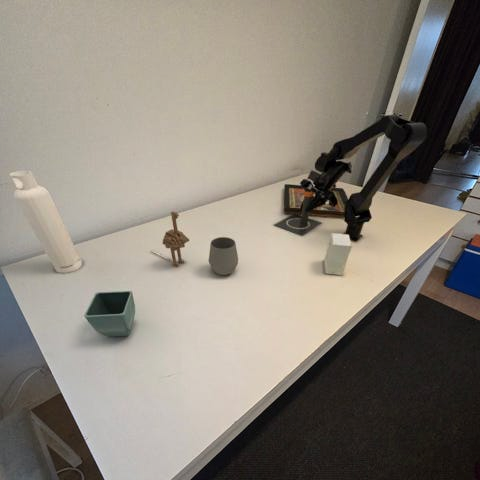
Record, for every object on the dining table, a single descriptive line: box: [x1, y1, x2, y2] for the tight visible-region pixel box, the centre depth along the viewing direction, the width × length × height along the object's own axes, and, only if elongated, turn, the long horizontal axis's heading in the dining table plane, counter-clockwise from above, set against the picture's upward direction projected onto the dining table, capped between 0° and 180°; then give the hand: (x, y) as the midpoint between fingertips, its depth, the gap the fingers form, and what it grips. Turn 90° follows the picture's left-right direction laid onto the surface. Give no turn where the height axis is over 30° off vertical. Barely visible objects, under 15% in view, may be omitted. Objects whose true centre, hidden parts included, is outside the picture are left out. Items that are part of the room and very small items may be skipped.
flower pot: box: [83, 290, 136, 338], centre depth 64 cm, size 9×9×9 cm
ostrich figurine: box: [151, 211, 190, 268], centre depth 85 cm, size 17×7×18 cm, turn 54°
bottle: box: [9, 169, 83, 274], centre depth 77 cm, size 8×8×28 cm
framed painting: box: [283, 183, 349, 219], centre depth 129 cm, size 38×35×3 cm
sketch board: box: [273, 214, 322, 237], centre depth 112 cm, size 16×14×1 cm
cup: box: [208, 236, 239, 276], centre depth 83 cm, size 10×9×10 cm
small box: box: [323, 232, 352, 276], centre depth 85 cm, size 8×6×10 cm
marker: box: [300, 192, 313, 227], centre depth 106 cm, size 3×3×13 cm
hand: (303, 209), depth 106 cm, fingers closed on marker, 3 cm apart
